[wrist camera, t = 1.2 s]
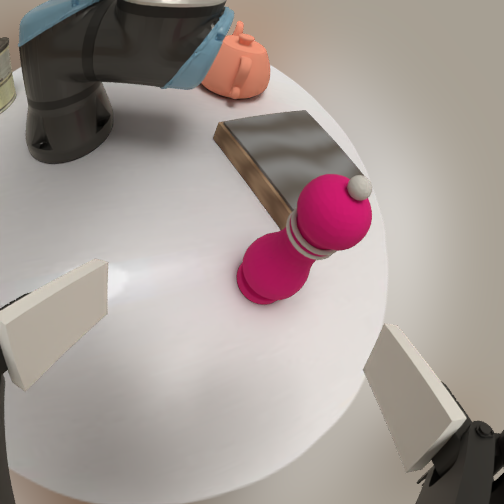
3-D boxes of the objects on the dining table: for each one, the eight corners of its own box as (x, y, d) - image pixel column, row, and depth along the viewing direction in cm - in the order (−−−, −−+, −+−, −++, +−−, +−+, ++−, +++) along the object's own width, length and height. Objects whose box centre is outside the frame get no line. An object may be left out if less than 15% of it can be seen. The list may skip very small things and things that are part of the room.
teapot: (194, 56, 53) (208, 13, 42) (255, 67, 58) (273, 28, 48) (190, 103, 44) (206, 45, 33) (269, 117, 49) (296, 67, 39)
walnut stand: (213, 138, 42) (219, 120, 38) (296, 122, 52) (305, 108, 48) (286, 238, 38) (300, 224, 35) (360, 197, 48) (373, 185, 45)
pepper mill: (232, 249, 35) (313, 128, 18) (285, 257, 37) (387, 159, 20) (232, 306, 31) (333, 214, 14) (288, 310, 34) (415, 236, 17)
